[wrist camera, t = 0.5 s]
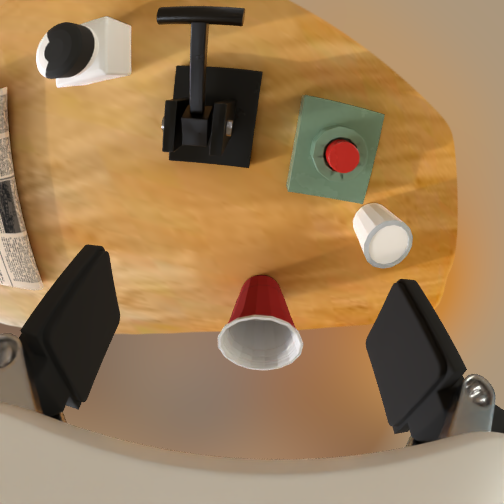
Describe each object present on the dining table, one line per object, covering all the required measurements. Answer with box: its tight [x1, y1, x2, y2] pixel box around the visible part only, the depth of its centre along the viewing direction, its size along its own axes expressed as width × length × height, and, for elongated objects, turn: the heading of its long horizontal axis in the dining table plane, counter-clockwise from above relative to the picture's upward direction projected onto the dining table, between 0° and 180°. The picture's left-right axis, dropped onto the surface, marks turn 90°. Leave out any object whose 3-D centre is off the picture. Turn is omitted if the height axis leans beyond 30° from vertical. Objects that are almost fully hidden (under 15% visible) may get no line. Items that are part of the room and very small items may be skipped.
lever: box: [157, 6, 245, 147], centre depth 20 cm, size 12×6×2 cm, turn 172°
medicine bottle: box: [36, 16, 131, 87], centre depth 23 cm, size 7×7×12 cm
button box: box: [286, 95, 384, 204], centre depth 33 cm, size 12×10×4 cm
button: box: [325, 139, 360, 173], centre depth 31 cm, size 4×4×2 cm
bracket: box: [162, 66, 263, 168], centre depth 28 cm, size 12×10×13 cm
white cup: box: [353, 203, 413, 268], centre depth 37 cm, size 7×7×7 cm
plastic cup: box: [218, 275, 303, 370], centre depth 41 cm, size 11×11×12 cm
